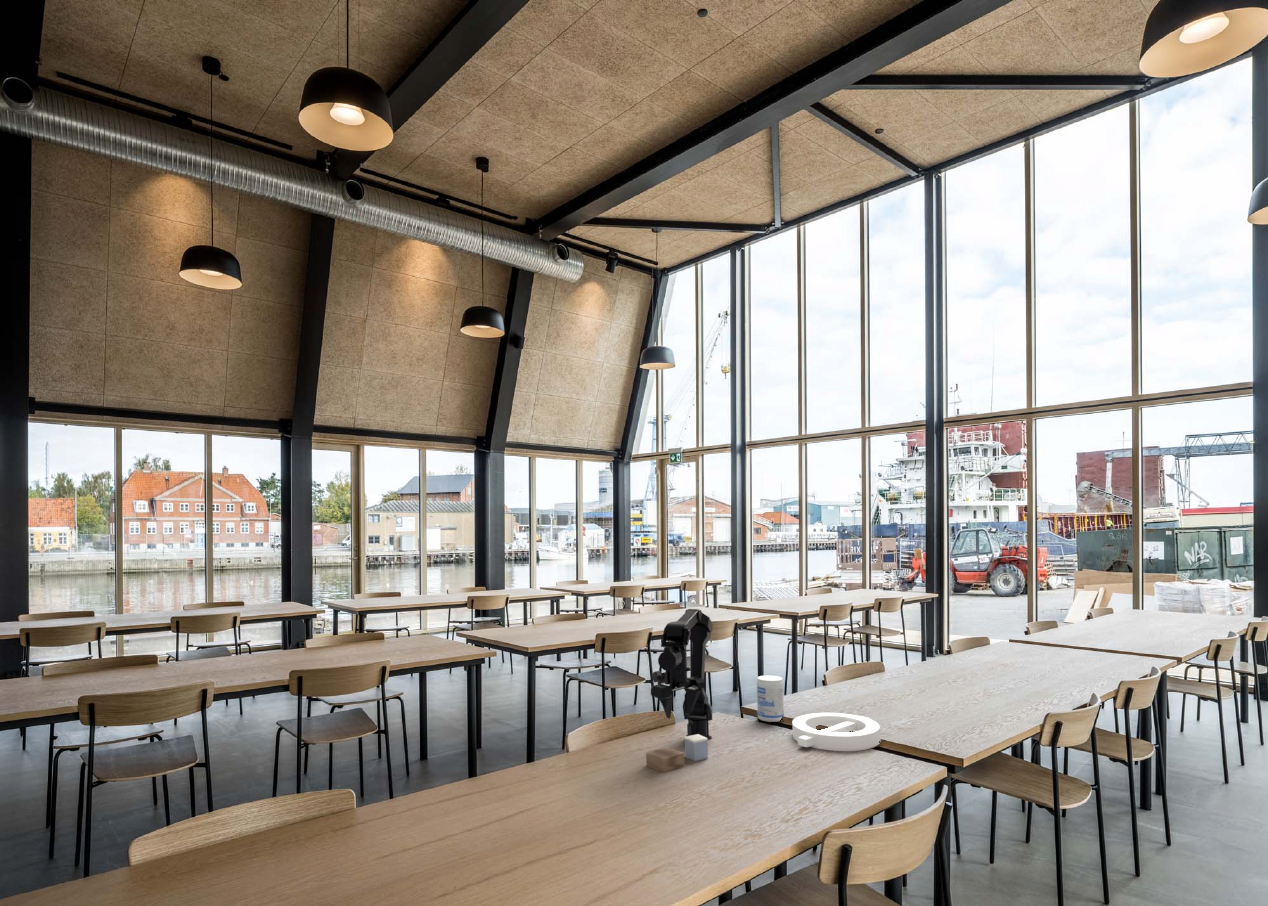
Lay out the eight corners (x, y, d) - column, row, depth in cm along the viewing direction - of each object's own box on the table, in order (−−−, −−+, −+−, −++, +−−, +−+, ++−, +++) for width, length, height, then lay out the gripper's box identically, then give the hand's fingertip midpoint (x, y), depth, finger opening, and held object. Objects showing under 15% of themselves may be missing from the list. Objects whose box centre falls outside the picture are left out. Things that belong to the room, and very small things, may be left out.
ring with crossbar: (869, 726, 247) (868, 712, 248) (890, 752, 220) (889, 736, 220) (788, 726, 250) (787, 712, 251) (798, 751, 222) (798, 736, 223)
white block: (698, 753, 221) (698, 734, 222) (708, 758, 217) (707, 738, 218) (684, 756, 219) (684, 736, 219) (694, 761, 214) (693, 741, 215)
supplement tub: (755, 721, 256) (754, 679, 257) (760, 714, 264) (758, 674, 266) (782, 723, 252) (780, 681, 254) (786, 716, 261) (784, 675, 263)
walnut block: (666, 760, 217) (666, 746, 217) (684, 767, 210) (683, 753, 211) (646, 766, 212) (646, 752, 212) (664, 773, 205) (663, 759, 206)
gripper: (681, 656, 234) (682, 704, 233) (638, 664, 222) (639, 716, 221) (705, 661, 226) (707, 711, 224) (662, 670, 214) (663, 723, 212)
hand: (679, 715), depth 220 cm, fingers open, 9 cm apart
